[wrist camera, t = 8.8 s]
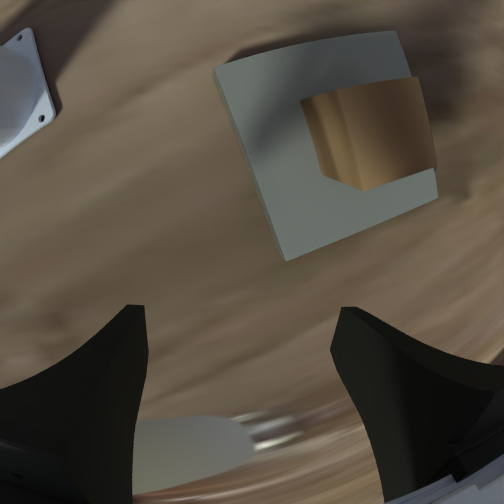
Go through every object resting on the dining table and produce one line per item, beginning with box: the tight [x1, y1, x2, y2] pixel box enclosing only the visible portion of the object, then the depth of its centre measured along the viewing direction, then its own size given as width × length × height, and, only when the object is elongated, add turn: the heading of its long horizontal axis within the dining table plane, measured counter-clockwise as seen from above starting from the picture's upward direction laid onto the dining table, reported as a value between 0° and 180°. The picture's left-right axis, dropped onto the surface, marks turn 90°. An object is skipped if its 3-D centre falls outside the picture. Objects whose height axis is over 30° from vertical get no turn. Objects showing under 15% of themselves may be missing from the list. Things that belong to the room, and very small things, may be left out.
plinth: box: [213, 30, 438, 261], centre depth 18 cm, size 12×12×2 cm
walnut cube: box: [300, 76, 437, 191], centre depth 14 cm, size 4×4×5 cm
